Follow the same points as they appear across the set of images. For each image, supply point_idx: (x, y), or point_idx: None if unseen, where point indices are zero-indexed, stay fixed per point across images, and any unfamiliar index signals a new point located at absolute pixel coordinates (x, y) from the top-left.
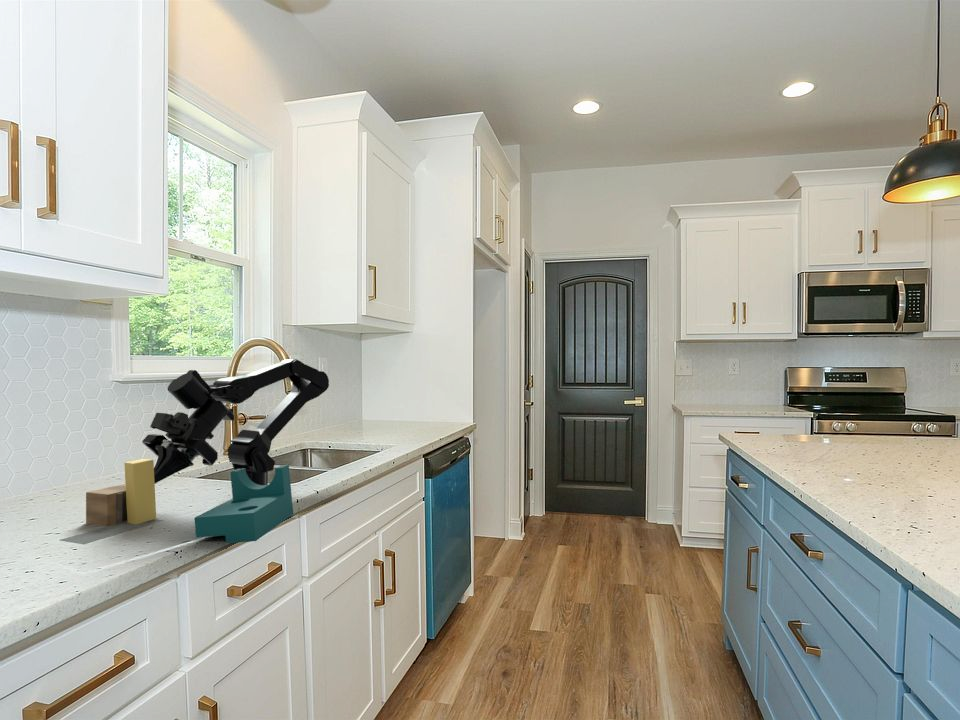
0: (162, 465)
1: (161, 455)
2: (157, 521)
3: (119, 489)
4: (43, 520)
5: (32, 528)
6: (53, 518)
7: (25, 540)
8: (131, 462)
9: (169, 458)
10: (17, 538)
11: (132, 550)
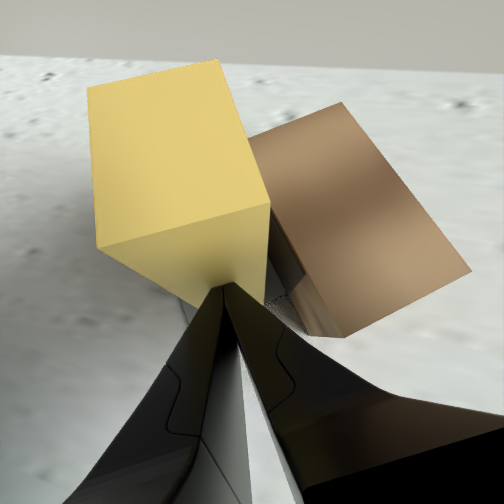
0: (176, 365)
1: (316, 421)
2: (191, 316)
3: (314, 192)
4: (432, 118)
5: (362, 98)
6: (442, 135)
7: (263, 84)
8: (158, 89)
9: (94, 472)
10: (290, 76)
11: (4, 211)
